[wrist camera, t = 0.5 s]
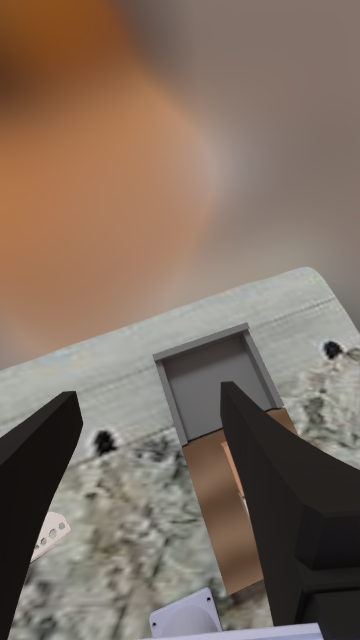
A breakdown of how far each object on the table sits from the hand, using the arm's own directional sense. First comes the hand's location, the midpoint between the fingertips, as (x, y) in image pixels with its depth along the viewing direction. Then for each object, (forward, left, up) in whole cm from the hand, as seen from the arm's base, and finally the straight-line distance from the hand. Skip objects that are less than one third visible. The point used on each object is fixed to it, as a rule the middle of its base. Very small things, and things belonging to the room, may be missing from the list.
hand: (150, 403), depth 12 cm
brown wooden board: (-14, -7, -27) cm, 31 cm away
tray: (+1, -7, -27) cm, 28 cm away
